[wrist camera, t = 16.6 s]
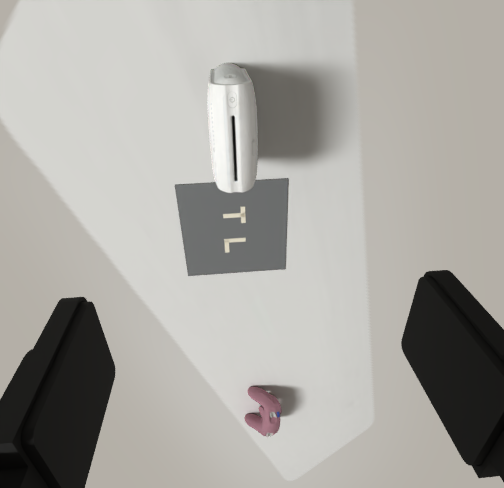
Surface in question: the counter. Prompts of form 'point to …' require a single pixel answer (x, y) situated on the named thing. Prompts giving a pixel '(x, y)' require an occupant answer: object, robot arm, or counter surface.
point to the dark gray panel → (233, 227)
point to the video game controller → (264, 412)
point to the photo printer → (232, 128)
